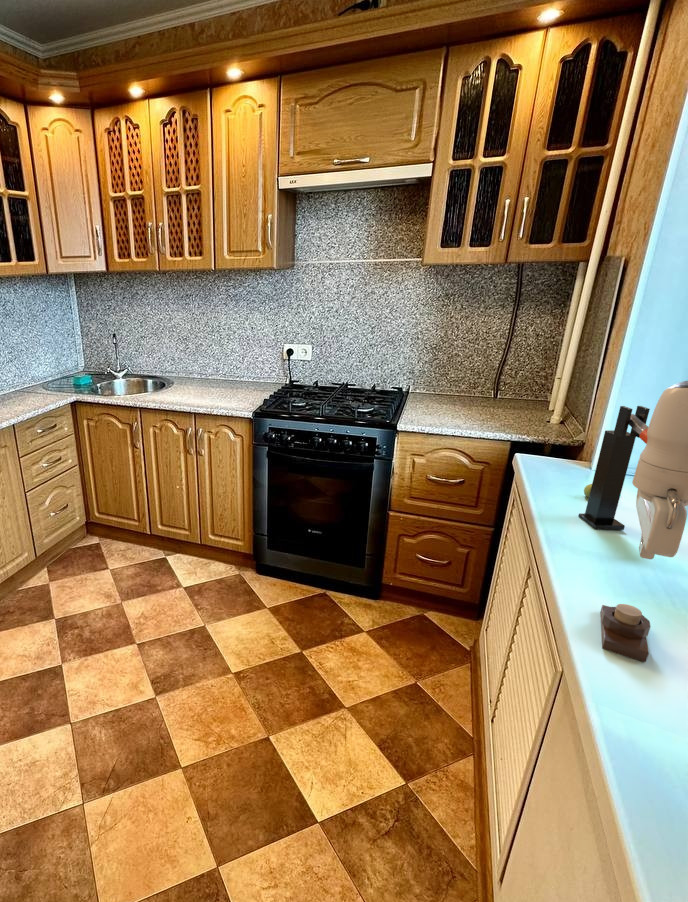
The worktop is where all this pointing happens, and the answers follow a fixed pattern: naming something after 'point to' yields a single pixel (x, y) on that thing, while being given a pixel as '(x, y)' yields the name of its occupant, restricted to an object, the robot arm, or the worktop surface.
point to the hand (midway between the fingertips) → (645, 554)
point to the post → (612, 472)
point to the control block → (624, 635)
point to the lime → (587, 490)
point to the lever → (639, 427)
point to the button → (627, 614)
